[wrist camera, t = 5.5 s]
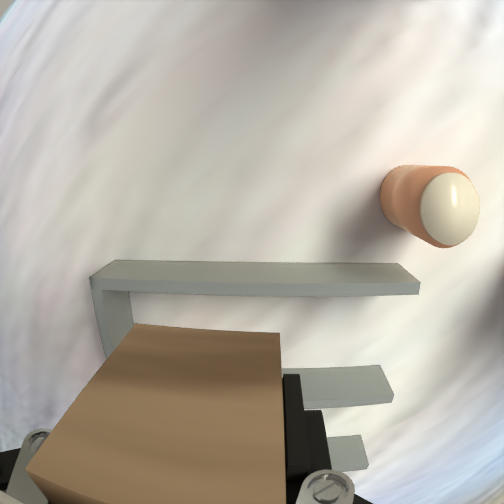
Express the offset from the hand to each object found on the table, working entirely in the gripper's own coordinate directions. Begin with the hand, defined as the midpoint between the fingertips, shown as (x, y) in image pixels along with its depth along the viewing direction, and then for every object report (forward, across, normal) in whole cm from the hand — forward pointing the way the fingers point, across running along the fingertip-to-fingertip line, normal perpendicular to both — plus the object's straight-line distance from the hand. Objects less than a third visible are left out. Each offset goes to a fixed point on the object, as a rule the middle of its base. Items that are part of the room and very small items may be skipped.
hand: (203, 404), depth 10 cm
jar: (+18, -14, -6) cm, 24 cm away
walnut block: (+1, 0, 0) cm, 1 cm away
